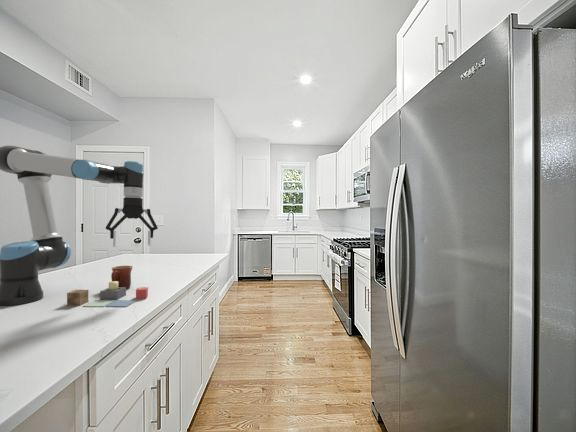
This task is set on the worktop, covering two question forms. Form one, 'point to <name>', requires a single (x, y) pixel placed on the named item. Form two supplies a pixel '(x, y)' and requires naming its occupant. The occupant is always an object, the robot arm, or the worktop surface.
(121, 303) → the tile
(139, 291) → the die
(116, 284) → the button
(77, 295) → the tan wooden cuboid
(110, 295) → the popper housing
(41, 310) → the worktop surface
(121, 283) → the mug
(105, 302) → the tile
